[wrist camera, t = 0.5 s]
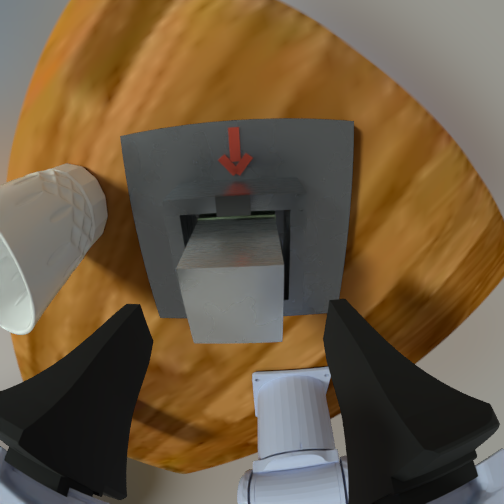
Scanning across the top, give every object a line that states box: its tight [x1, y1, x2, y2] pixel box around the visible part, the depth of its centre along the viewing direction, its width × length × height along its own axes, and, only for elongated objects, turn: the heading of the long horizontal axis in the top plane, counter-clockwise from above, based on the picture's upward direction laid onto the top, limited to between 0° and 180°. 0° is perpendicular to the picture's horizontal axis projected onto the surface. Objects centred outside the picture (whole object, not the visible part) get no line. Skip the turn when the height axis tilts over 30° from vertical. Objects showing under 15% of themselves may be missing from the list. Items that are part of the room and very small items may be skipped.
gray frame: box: [120, 118, 354, 318], centre depth 16 cm, size 14×14×5 cm
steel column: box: [176, 210, 284, 343], centre depth 14 cm, size 4×4×7 cm
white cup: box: [0, 163, 108, 335], centre depth 13 cm, size 8×8×10 cm
